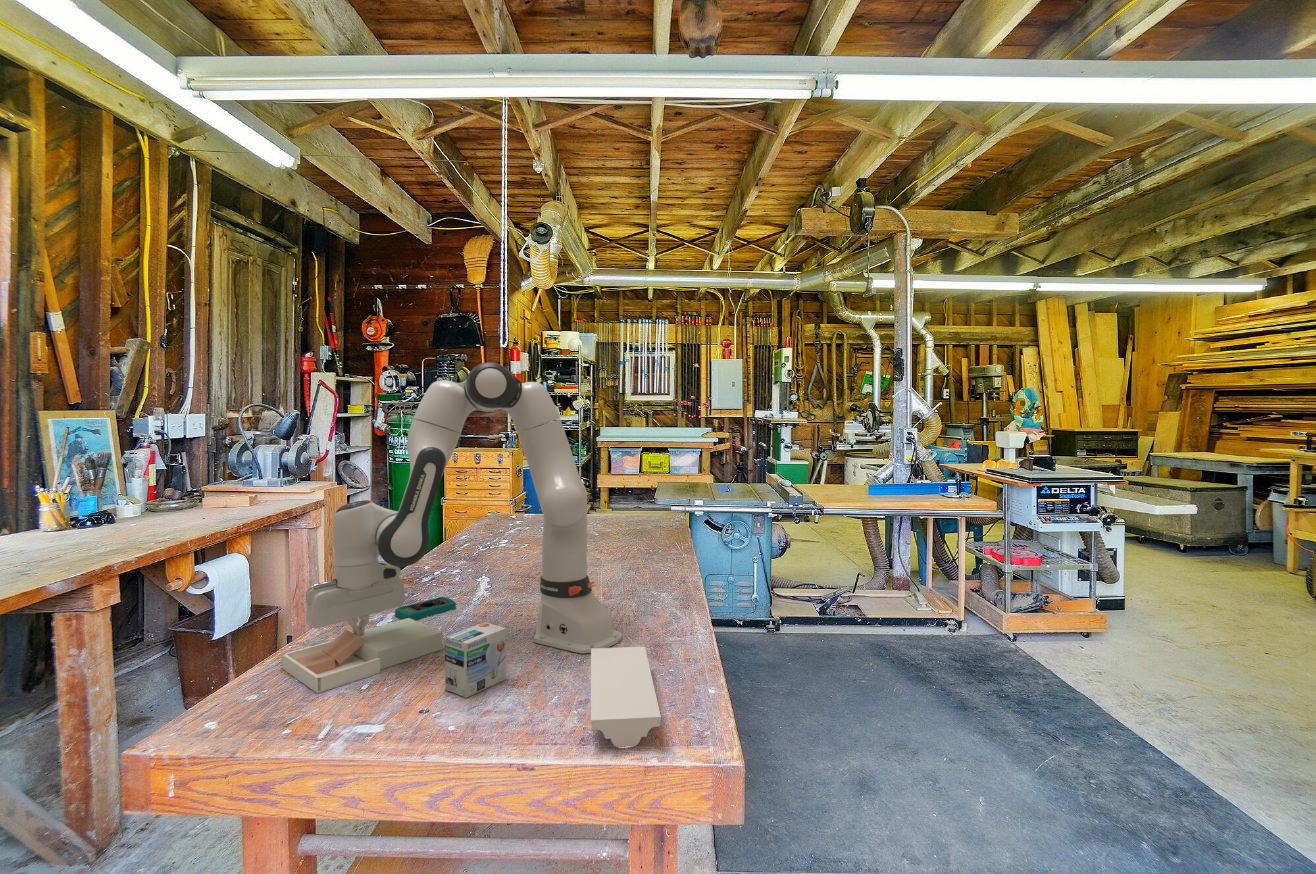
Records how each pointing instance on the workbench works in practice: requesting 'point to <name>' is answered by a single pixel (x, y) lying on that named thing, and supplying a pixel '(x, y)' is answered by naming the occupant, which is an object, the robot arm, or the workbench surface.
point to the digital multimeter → (425, 608)
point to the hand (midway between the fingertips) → (358, 636)
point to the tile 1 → (317, 662)
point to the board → (398, 642)
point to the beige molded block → (622, 695)
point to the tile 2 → (343, 646)
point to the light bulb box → (475, 659)
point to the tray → (330, 679)
